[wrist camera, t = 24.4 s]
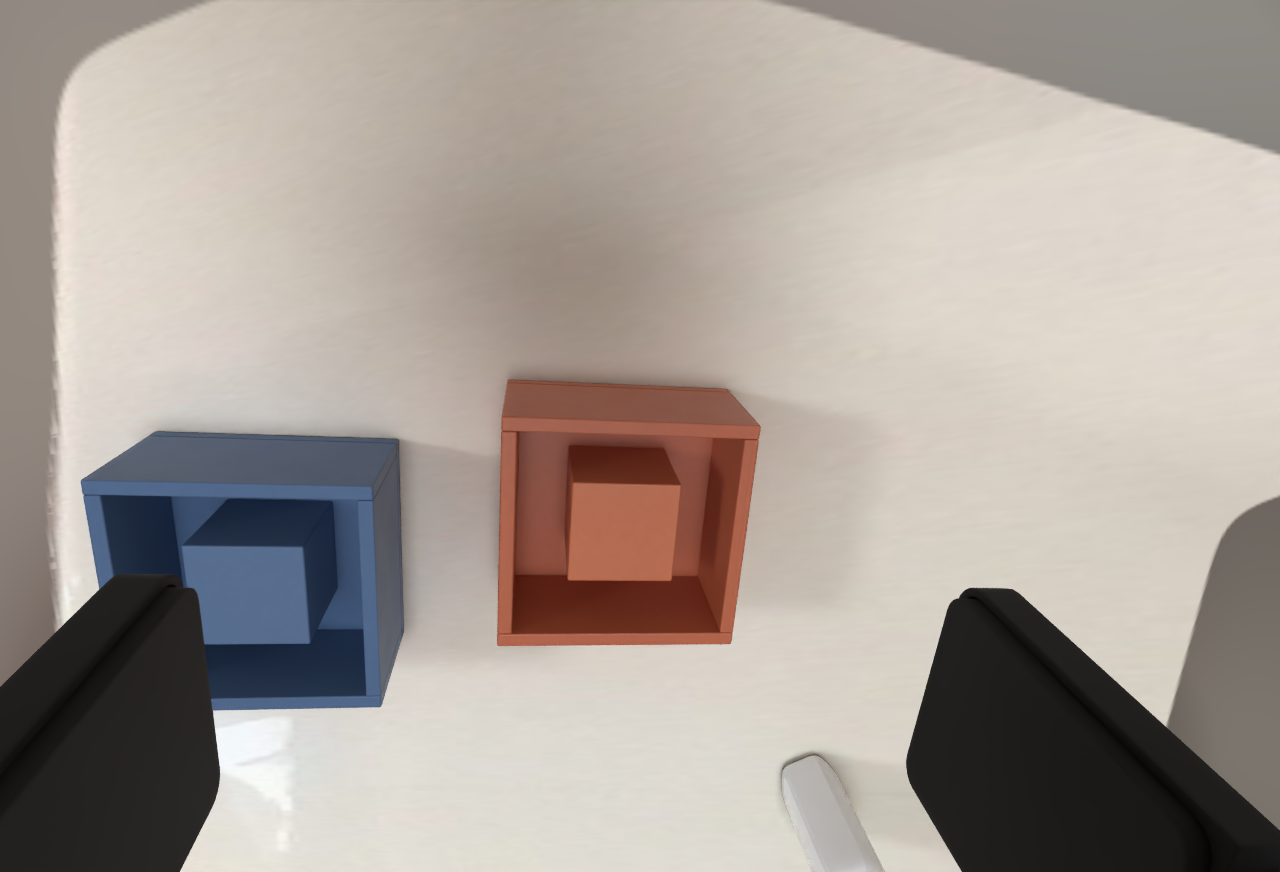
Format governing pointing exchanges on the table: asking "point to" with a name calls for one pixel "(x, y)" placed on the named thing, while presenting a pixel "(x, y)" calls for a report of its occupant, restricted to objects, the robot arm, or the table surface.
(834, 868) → the eye dropper bottle
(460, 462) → the table surface
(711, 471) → the terracotta bin
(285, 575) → the slate block
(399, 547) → the slate bin
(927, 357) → the table surface
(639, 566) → the terracotta block
